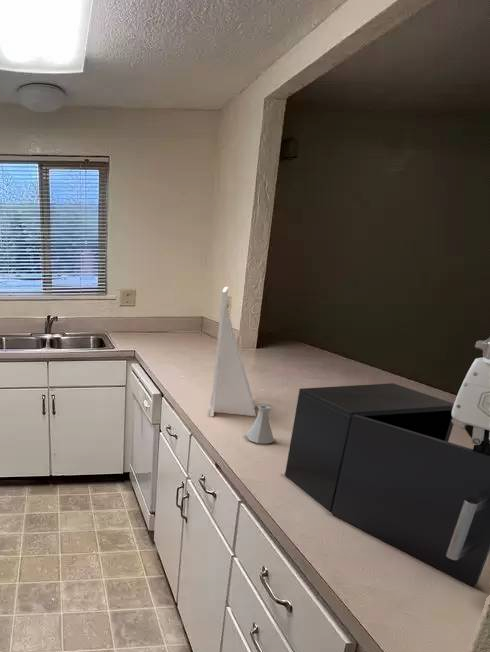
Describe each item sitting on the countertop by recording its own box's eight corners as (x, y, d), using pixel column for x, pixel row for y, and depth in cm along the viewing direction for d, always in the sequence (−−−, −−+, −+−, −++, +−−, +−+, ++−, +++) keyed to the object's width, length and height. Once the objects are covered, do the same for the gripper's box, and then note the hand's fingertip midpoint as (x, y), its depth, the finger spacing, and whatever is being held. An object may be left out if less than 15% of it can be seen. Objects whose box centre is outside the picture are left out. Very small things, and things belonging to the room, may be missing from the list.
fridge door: (457, 599, 67) (503, 474, 59) (314, 521, 87) (335, 420, 79) (476, 584, 70) (522, 464, 62) (334, 512, 89) (355, 414, 82)
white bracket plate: (256, 421, 139) (273, 292, 125) (210, 416, 143) (222, 291, 130) (254, 402, 157) (270, 287, 143) (213, 398, 161) (224, 286, 147)
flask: (256, 445, 121) (261, 412, 118) (241, 435, 128) (245, 403, 124) (278, 443, 123) (284, 410, 119) (263, 433, 129) (267, 401, 126)
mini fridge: (430, 501, 94) (459, 405, 86) (329, 511, 90) (351, 412, 82) (372, 467, 108) (393, 383, 101) (284, 475, 105) (299, 388, 97)
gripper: (445, 347, 66) (415, 455, 73) (584, 368, 54) (533, 497, 60) (470, 342, 69) (439, 447, 76) (607, 361, 57) (556, 484, 63)
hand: (481, 468), depth 68 cm, fingers closed
